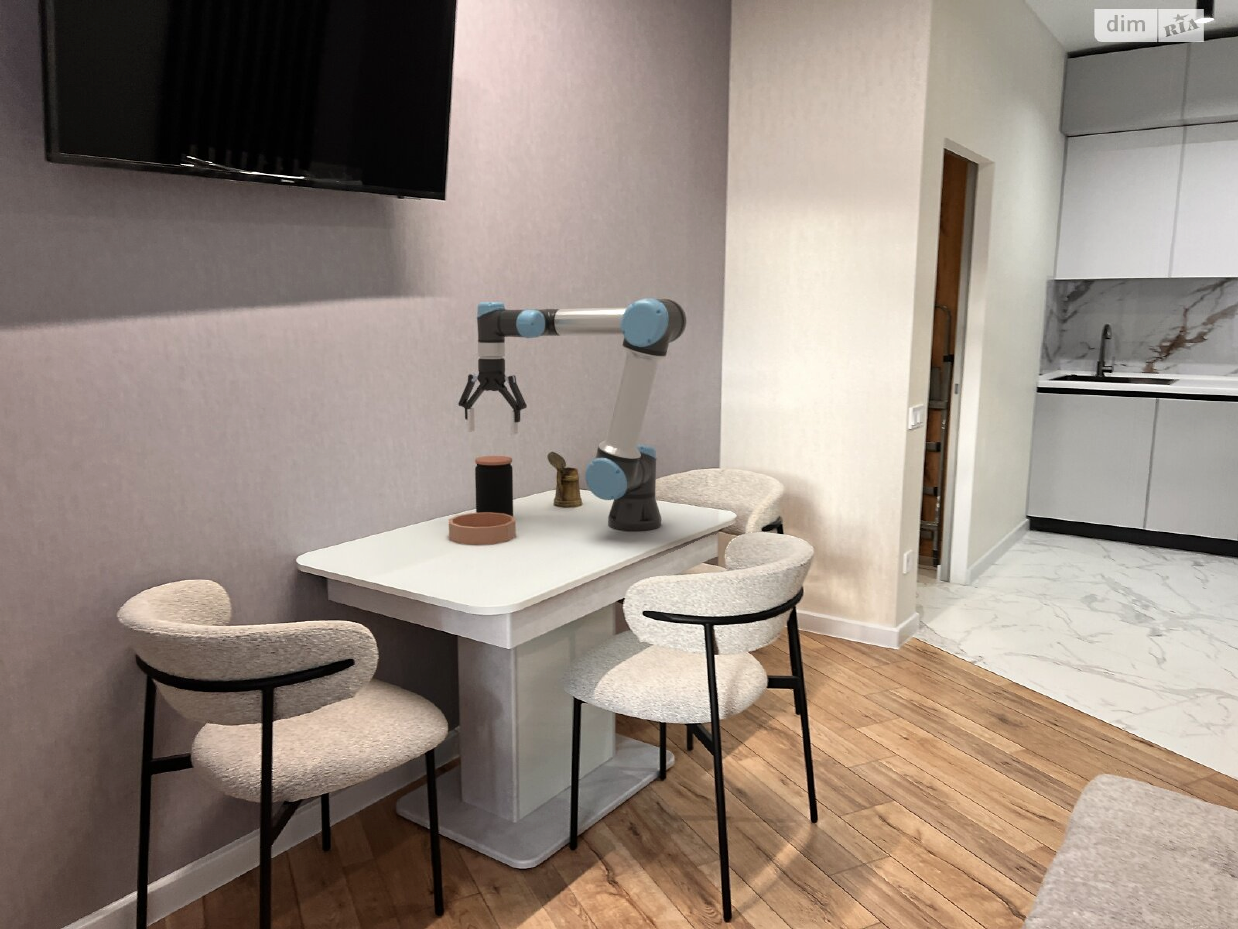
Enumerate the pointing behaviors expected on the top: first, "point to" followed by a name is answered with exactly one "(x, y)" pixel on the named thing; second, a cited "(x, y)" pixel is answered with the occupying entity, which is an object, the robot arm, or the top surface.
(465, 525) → the terracotta bowl
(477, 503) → the coffee jar
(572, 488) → the wooden mug
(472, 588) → the top surface
